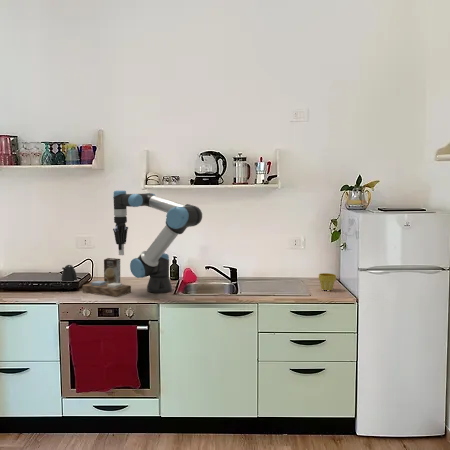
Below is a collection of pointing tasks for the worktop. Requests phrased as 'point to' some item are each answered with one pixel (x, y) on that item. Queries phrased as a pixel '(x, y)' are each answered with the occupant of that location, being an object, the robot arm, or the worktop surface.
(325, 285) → the plant pot
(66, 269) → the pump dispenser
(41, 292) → the worktop surface
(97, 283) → the blue key
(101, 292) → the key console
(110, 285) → the white key
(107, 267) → the coffee box
